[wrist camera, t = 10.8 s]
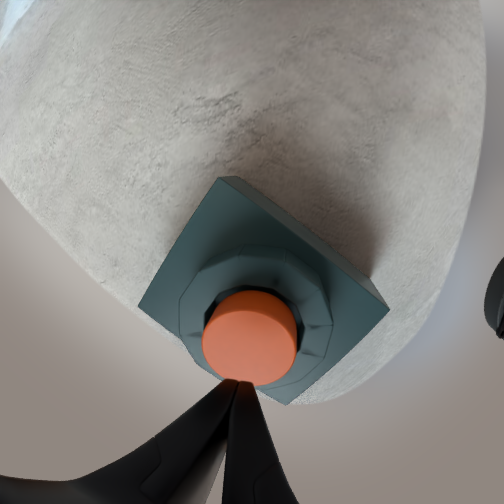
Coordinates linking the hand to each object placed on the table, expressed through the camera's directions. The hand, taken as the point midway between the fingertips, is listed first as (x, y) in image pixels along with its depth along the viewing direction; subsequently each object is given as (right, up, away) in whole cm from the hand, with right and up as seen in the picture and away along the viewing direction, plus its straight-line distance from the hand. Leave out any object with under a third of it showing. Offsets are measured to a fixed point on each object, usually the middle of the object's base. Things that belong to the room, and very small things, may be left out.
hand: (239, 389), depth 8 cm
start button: (0, +1, +4) cm, 4 cm away
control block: (+1, +3, +9) cm, 10 cm away
